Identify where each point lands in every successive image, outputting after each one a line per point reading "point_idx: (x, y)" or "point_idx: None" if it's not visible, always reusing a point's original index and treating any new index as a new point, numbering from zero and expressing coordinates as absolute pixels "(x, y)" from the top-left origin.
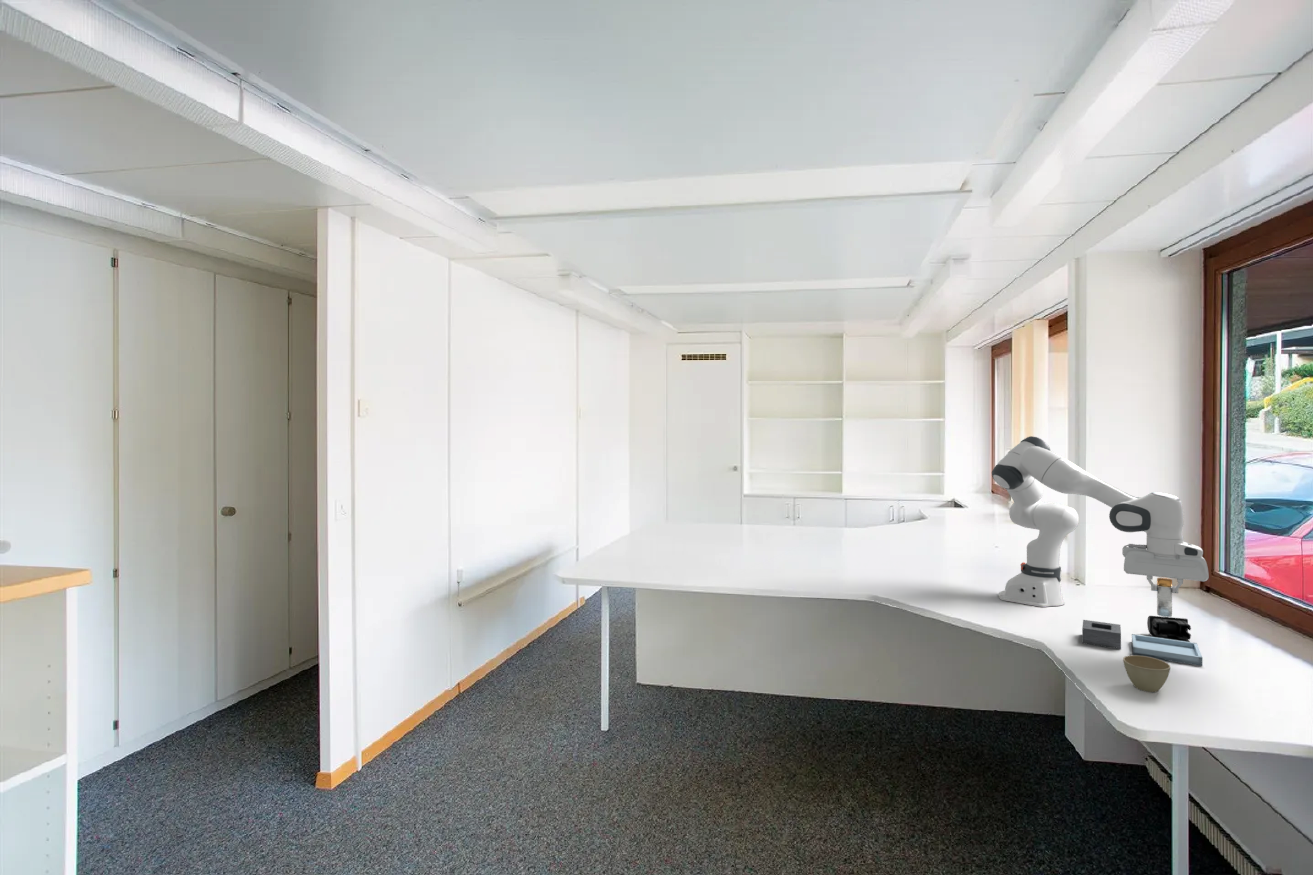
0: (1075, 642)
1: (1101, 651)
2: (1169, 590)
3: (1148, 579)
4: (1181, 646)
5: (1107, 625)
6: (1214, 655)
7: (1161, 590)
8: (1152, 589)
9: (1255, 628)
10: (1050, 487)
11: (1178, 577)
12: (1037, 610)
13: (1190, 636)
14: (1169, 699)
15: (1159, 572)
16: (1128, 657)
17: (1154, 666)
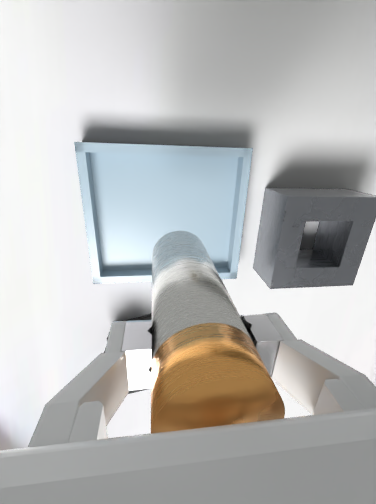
0: (360, 189)
1: (316, 139)
2: (171, 314)
3: (351, 374)
4: (129, 269)
5: (302, 267)
6: (59, 260)
7: (223, 302)
8: (273, 314)
9: None
10: None
11: (70, 459)
12: (369, 377)
13: (108, 335)
14: None
15: (339, 490)
16: None
17: None
